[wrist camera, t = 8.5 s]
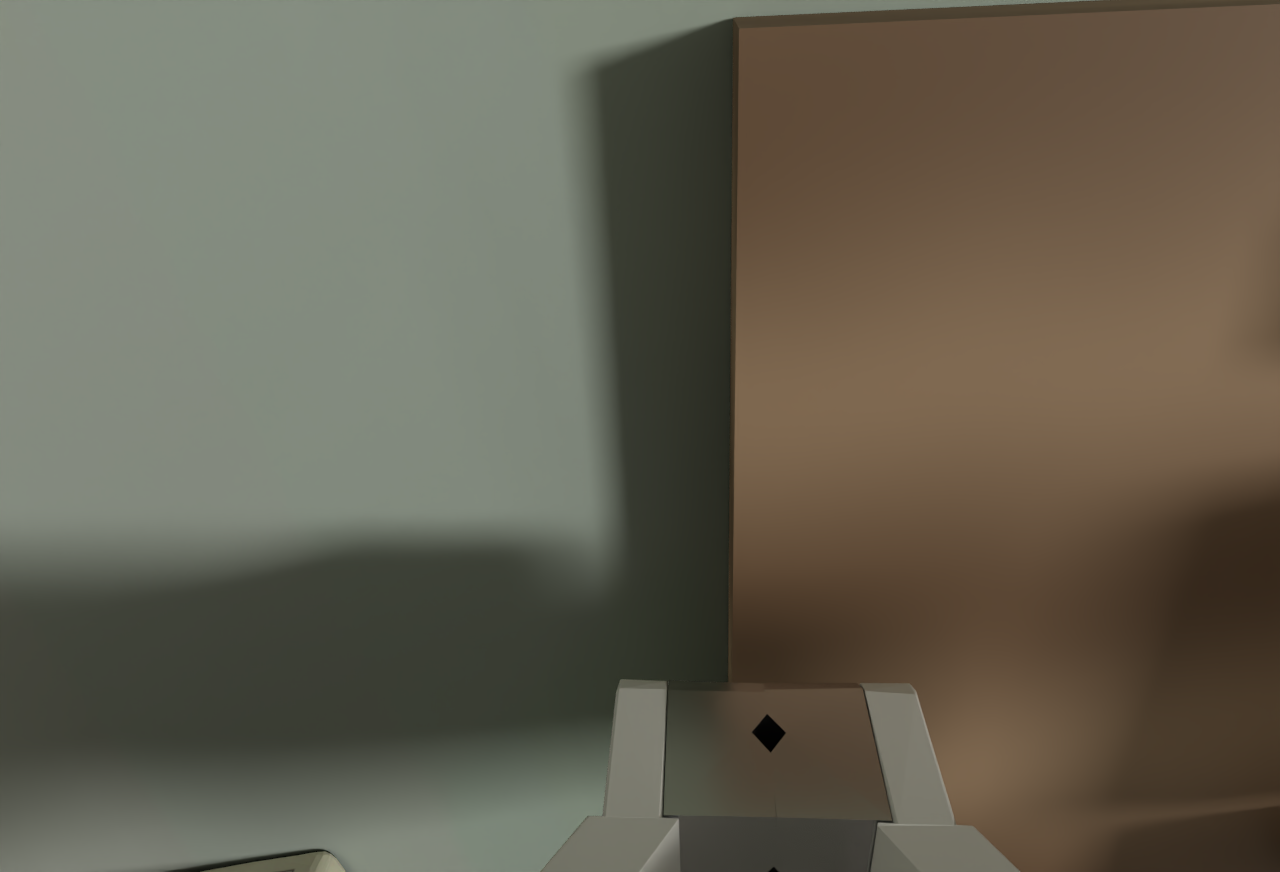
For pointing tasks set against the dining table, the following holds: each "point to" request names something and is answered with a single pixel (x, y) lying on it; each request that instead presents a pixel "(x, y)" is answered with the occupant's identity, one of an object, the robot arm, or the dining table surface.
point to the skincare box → (290, 864)
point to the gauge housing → (1021, 406)
